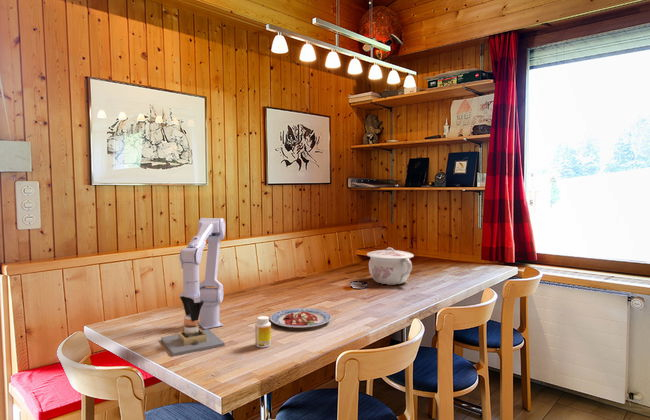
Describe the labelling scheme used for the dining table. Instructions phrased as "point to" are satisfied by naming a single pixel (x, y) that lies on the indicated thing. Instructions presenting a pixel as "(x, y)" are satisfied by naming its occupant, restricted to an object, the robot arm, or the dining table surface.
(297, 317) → the ceramic plate
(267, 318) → the supplement bottle
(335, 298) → the dining table surface
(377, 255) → the chamber pot
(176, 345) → the socket base
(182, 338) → the square hollow frame
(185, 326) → the silver tin
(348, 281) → the dining table surface
